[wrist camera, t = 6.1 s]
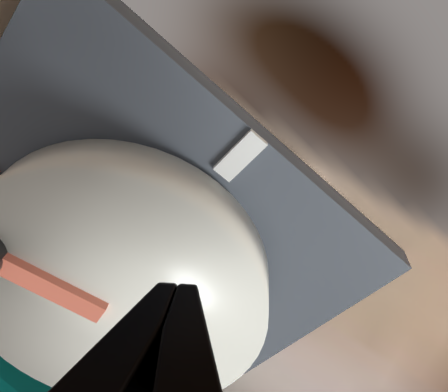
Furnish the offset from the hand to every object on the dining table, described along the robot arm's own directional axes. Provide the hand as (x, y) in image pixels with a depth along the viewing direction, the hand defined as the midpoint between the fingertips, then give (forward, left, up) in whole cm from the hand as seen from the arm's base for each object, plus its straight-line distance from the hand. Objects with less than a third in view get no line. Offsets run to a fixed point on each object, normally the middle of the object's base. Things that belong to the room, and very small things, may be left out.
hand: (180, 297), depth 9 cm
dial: (0, +5, -5) cm, 8 cm away
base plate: (0, +5, -7) cm, 8 cm away
